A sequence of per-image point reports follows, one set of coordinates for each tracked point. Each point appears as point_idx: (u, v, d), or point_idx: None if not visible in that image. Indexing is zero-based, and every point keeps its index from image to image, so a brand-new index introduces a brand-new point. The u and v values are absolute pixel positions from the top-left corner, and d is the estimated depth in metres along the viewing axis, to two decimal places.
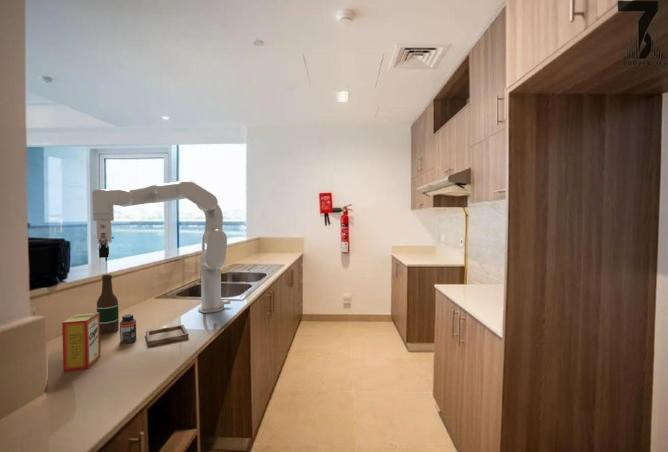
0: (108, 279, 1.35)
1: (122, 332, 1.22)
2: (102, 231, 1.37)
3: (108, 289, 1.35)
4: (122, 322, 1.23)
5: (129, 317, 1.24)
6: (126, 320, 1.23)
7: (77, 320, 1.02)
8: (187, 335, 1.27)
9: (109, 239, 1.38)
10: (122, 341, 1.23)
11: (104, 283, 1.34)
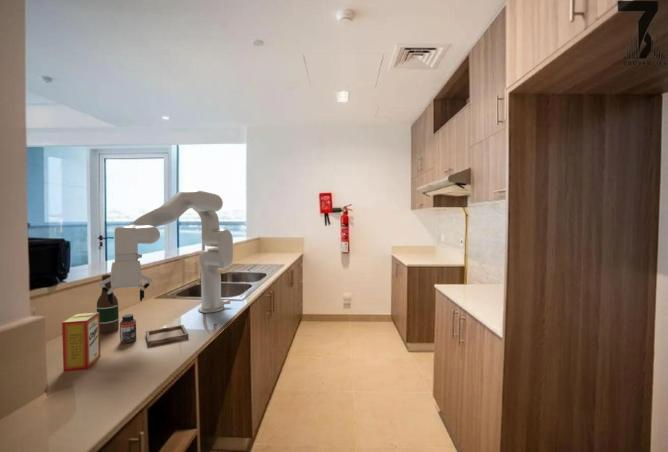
0: None
1: (122, 332, 1.22)
2: (141, 272, 1.27)
3: None
4: (122, 322, 1.23)
5: (129, 317, 1.24)
6: (126, 320, 1.23)
7: (77, 320, 1.02)
8: (187, 335, 1.27)
9: None
10: (122, 341, 1.23)
11: None
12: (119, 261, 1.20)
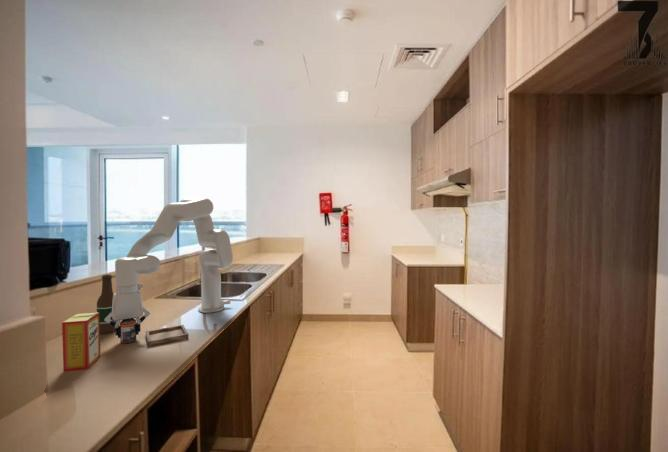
0: (108, 279, 1.35)
1: (123, 332, 1.22)
2: None
3: (108, 289, 1.35)
4: (122, 322, 1.23)
5: None
6: (126, 320, 1.23)
7: (77, 320, 1.02)
8: (187, 335, 1.27)
9: None
10: (122, 341, 1.23)
11: (104, 283, 1.34)
12: (120, 293, 1.21)
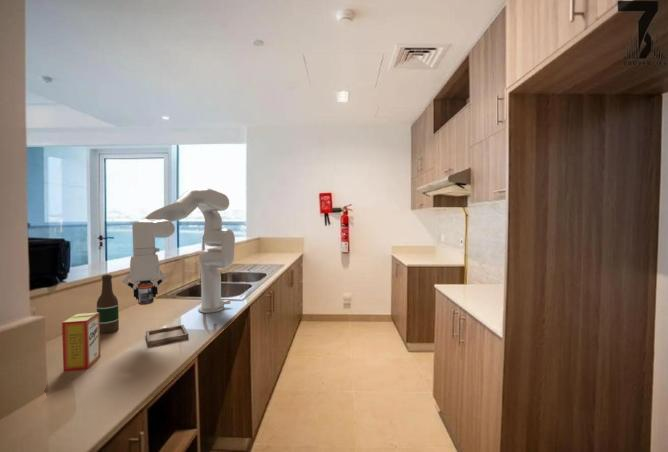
0: (108, 279, 1.35)
1: (140, 293, 1.24)
2: None
3: (108, 289, 1.35)
4: (140, 284, 1.24)
5: None
6: (143, 282, 1.25)
7: (77, 320, 1.02)
8: (187, 335, 1.27)
9: None
10: (140, 302, 1.24)
11: (104, 283, 1.34)
12: (138, 255, 1.22)
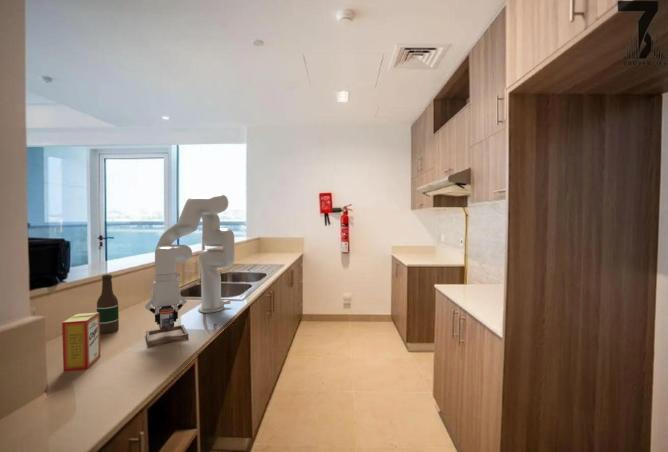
0: (108, 279, 1.35)
1: (162, 318, 1.26)
2: None
3: (108, 289, 1.35)
4: (161, 309, 1.27)
5: None
6: (165, 307, 1.27)
7: (77, 320, 1.02)
8: (187, 335, 1.27)
9: None
10: (161, 327, 1.26)
11: (104, 283, 1.34)
12: (160, 281, 1.25)
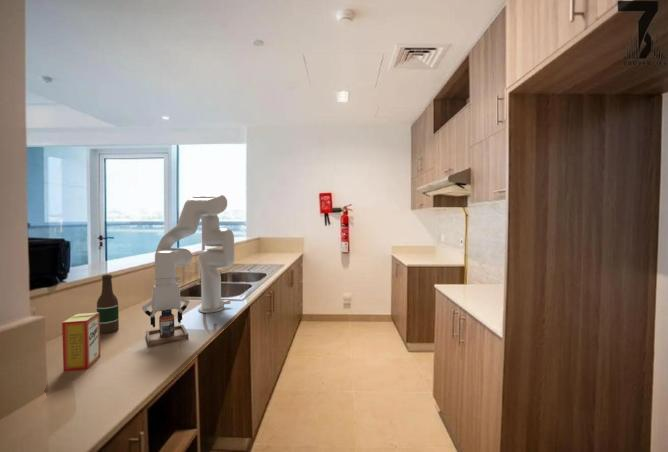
0: (108, 279, 1.35)
1: (162, 326, 1.26)
2: None
3: (108, 289, 1.35)
4: (162, 317, 1.27)
5: (168, 312, 1.28)
6: (165, 315, 1.27)
7: (77, 320, 1.02)
8: (187, 335, 1.27)
9: None
10: (162, 335, 1.27)
11: (104, 283, 1.34)
12: (160, 285, 1.25)
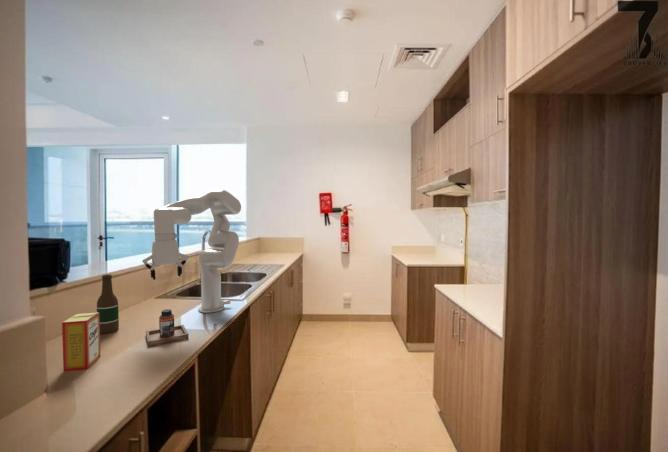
0: (108, 279, 1.35)
1: (162, 326, 1.26)
2: (178, 250, 1.39)
3: (108, 289, 1.35)
4: (162, 317, 1.27)
5: (168, 312, 1.28)
6: (165, 315, 1.27)
7: (77, 320, 1.02)
8: (187, 335, 1.27)
9: None
10: (162, 335, 1.27)
11: (104, 283, 1.34)
12: (160, 240, 1.32)
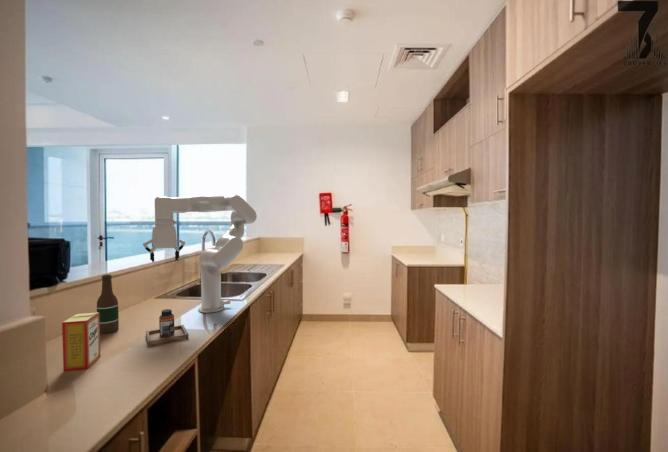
0: (108, 279, 1.35)
1: (162, 326, 1.26)
2: (176, 236, 1.50)
3: (108, 289, 1.35)
4: (162, 316, 1.27)
5: (168, 312, 1.28)
6: (165, 315, 1.27)
7: (77, 320, 1.02)
8: (187, 335, 1.27)
9: None
10: (162, 335, 1.27)
11: (104, 283, 1.34)
12: (159, 225, 1.43)
